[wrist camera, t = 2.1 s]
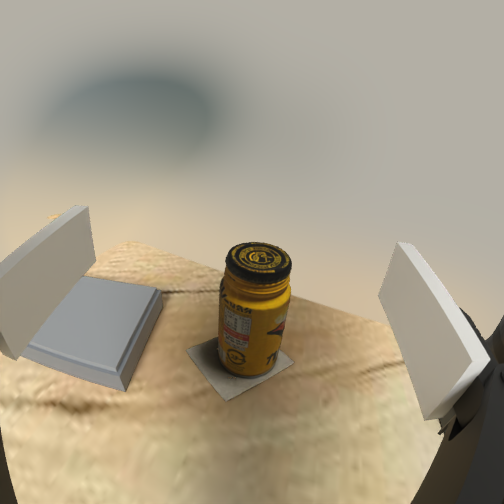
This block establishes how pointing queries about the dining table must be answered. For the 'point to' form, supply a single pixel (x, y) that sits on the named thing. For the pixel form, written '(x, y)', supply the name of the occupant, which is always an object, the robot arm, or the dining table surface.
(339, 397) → the dining table surface
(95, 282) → the grey square coaster
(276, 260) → the condiment
